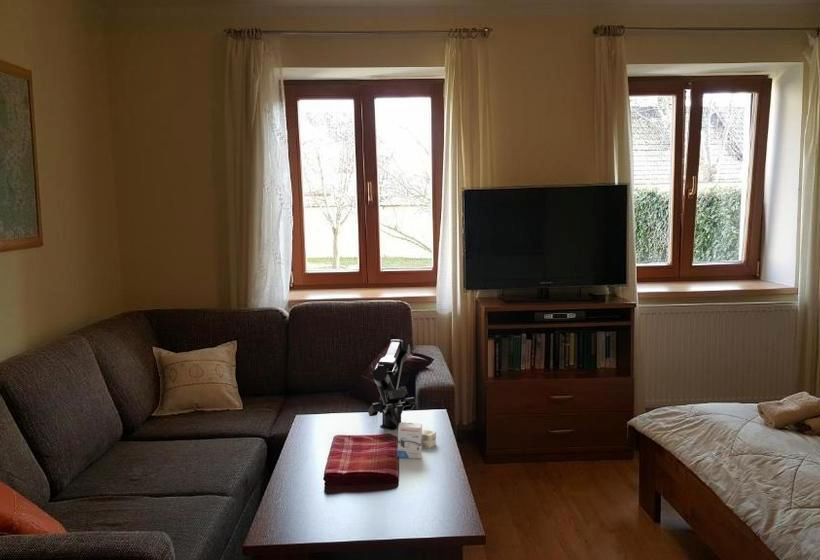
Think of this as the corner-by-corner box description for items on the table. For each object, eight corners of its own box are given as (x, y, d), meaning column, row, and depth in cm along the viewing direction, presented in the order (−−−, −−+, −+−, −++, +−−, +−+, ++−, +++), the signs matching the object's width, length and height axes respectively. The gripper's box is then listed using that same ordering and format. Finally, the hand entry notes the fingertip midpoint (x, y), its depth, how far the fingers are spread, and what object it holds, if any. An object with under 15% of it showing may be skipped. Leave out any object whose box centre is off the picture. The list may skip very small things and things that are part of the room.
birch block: (418, 446, 241) (418, 433, 240) (424, 441, 245) (424, 429, 244) (429, 448, 238) (429, 436, 238) (435, 444, 242) (436, 432, 242)
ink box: (397, 457, 229) (397, 426, 228) (398, 452, 234) (399, 422, 233) (420, 459, 228) (421, 428, 227) (421, 453, 233) (422, 423, 232)
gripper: (371, 382, 234) (385, 420, 226) (414, 376, 244) (429, 412, 236) (362, 397, 242) (375, 434, 234) (404, 391, 251) (418, 426, 243)
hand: (399, 426), depth 237 cm, fingers closed
